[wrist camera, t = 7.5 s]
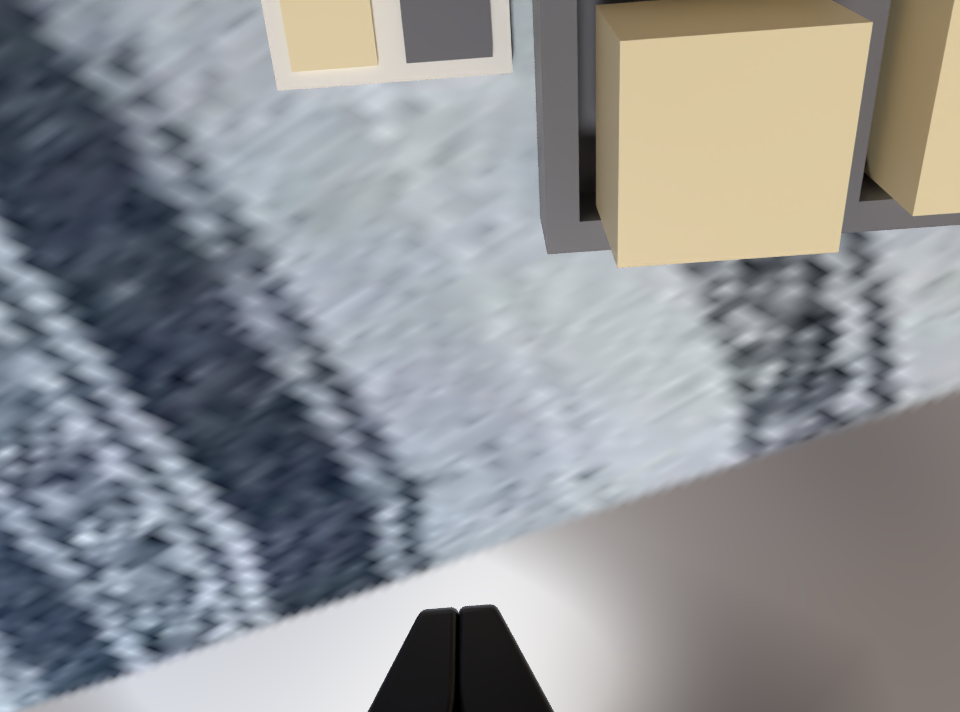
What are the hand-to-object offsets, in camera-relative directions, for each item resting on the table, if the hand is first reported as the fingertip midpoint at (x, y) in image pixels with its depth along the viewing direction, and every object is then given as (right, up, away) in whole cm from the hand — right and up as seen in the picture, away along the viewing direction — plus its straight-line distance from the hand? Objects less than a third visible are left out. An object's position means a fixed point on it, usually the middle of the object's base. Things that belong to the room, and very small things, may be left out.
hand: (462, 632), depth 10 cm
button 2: (+4, +8, +8) cm, 12 cm away
